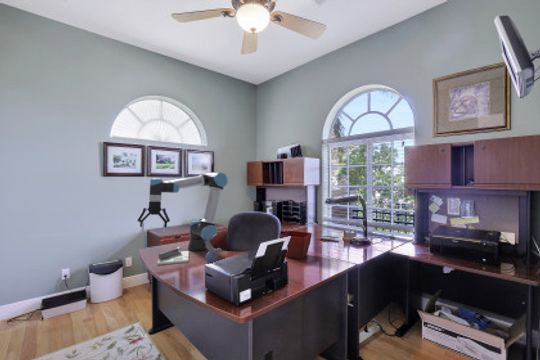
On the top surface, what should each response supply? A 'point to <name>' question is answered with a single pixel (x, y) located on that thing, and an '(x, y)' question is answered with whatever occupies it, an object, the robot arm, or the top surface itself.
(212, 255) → the seal
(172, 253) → the ball-tipped lever
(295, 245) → the plant pot
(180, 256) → the dial board
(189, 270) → the top surface
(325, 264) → the top surface
